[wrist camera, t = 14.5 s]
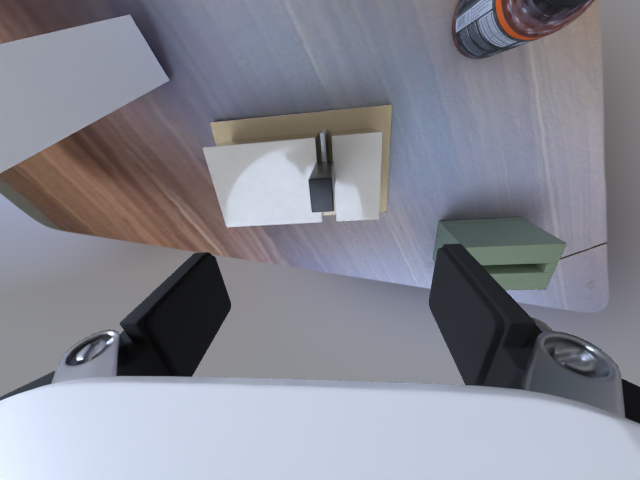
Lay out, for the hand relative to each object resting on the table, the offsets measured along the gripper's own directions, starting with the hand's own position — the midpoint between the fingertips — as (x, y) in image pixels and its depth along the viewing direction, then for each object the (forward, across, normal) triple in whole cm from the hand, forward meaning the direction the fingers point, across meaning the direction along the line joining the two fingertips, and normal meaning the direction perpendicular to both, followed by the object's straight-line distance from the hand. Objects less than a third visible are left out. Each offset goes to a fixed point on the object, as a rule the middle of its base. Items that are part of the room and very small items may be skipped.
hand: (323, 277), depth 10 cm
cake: (+21, +4, -1) cm, 22 cm away
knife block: (+22, -18, +10) cm, 30 cm away
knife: (+20, +1, -2) cm, 20 cm away
